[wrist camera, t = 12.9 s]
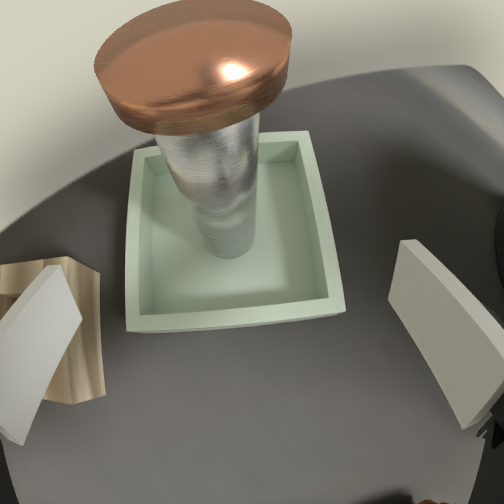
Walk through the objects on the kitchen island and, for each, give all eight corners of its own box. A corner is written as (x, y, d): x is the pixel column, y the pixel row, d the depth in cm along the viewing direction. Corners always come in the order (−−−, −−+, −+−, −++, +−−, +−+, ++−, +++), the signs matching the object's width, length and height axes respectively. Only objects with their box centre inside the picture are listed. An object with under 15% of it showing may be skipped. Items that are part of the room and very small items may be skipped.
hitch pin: (261, 196, 23) (274, -8, 7) (270, 266, 21) (314, 81, 5) (191, 204, 23) (118, 14, 7) (193, 273, 21) (70, 117, 5)
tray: (302, 155, 25) (308, 130, 22) (331, 316, 21) (345, 311, 17) (146, 172, 25) (134, 149, 21) (145, 333, 20) (126, 331, 17)
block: (100, 273, 22) (67, 256, 17) (106, 395, 19) (72, 404, 14) (21, 280, 22) (-13, 266, 17) (23, 382, 19) (-13, 384, 14)
